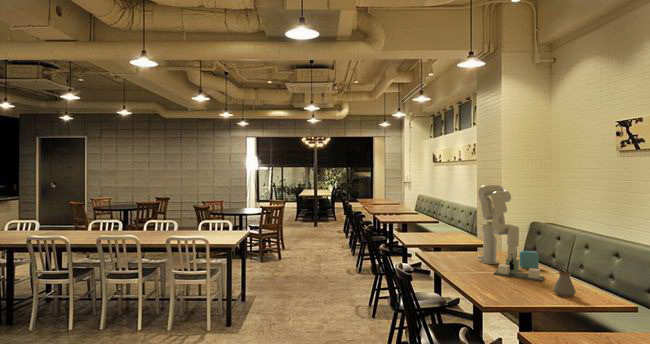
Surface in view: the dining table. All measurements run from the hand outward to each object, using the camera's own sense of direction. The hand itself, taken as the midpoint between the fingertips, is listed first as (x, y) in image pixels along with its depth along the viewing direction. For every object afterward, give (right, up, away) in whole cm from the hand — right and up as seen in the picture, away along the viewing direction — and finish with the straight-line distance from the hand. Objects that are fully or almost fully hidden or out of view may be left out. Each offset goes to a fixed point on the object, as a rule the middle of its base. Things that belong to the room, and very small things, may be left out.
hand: (512, 268), depth 310 cm
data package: (+17, -2, +10) cm, 20 cm away
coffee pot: (+6, -3, -53) cm, 53 cm away
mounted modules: (-3, -1, -16) cm, 17 cm away
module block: (0, -2, 0) cm, 2 cm away
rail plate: (-3, -2, -16) cm, 17 cm away
